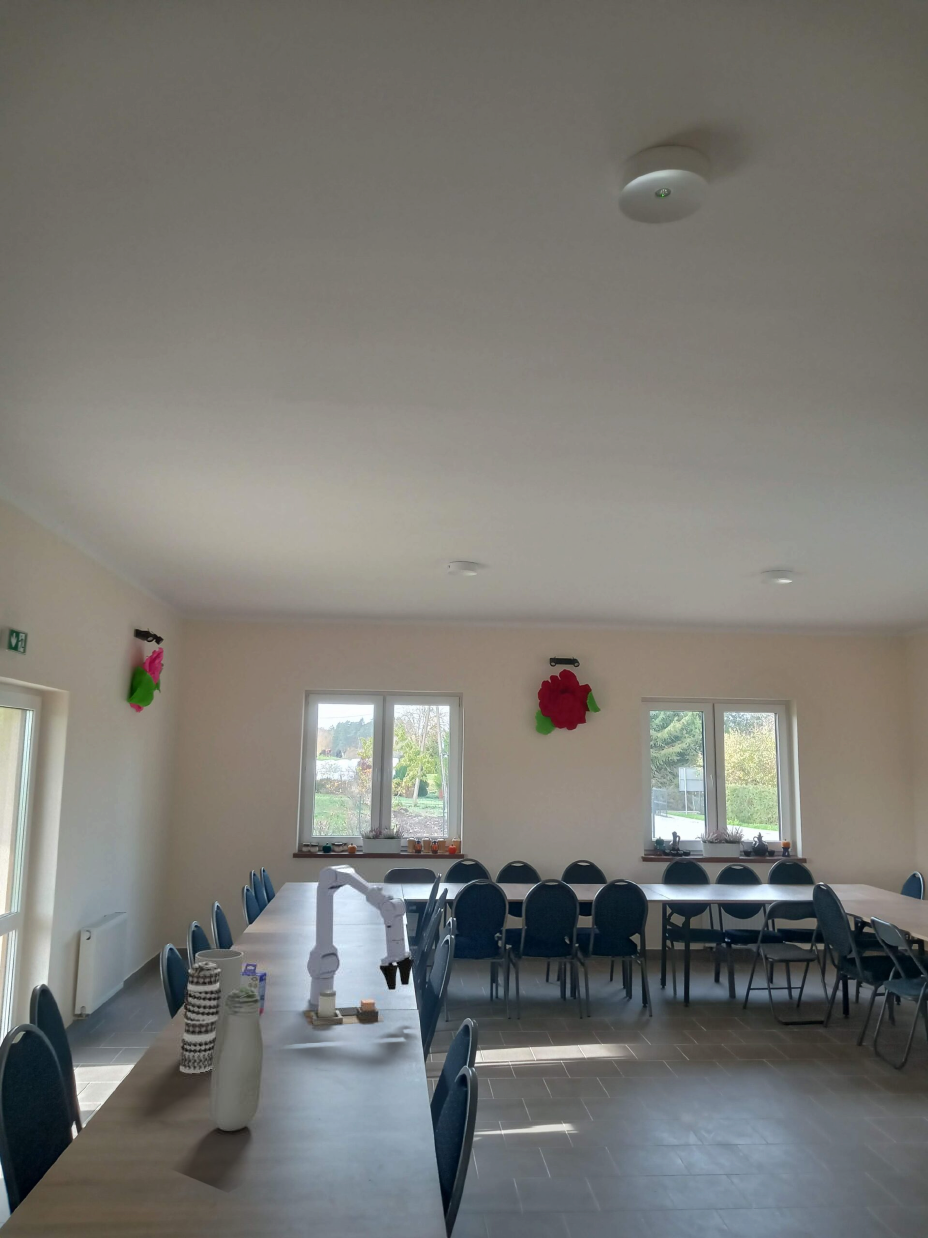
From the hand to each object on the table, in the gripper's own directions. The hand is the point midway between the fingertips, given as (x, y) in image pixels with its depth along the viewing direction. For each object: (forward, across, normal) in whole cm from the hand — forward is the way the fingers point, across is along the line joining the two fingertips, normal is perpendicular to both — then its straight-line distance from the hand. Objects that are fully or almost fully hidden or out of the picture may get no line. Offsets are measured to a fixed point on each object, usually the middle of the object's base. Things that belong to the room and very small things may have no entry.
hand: (398, 987), depth 260 cm
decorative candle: (+8, -60, +24) cm, 65 cm away
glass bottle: (+13, -83, -9) cm, 84 cm away
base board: (+8, -6, +17) cm, 20 cm away
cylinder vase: (+7, -50, +28) cm, 58 cm away
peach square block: (+6, -3, +10) cm, 12 cm away
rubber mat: (+7, -1, +18) cm, 19 cm away
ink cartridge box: (+4, -18, +45) cm, 48 cm away
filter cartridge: (+7, -12, +19) cm, 23 cm away
